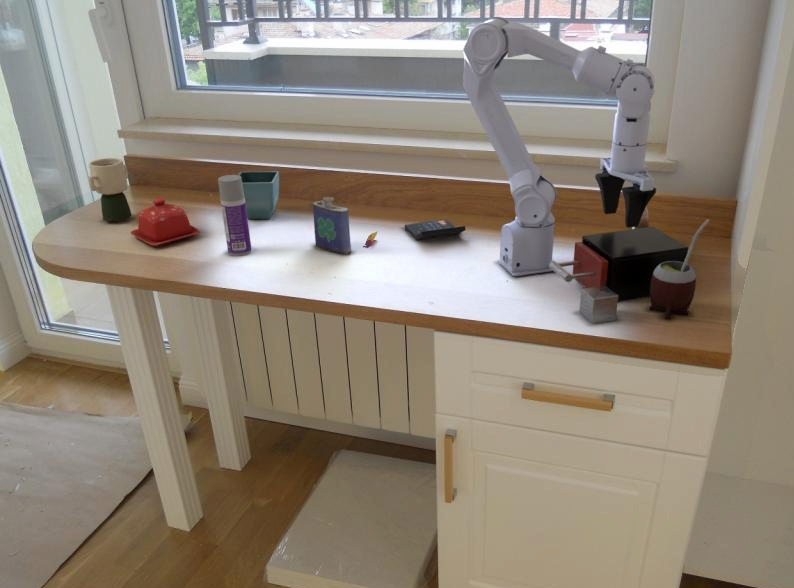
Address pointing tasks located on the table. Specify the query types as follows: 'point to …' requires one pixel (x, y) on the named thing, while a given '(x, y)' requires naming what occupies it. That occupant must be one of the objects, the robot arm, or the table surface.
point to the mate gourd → (674, 284)
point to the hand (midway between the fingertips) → (620, 219)
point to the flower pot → (260, 193)
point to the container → (234, 215)
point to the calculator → (433, 229)
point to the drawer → (586, 267)
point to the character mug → (110, 187)
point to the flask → (331, 227)
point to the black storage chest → (635, 257)
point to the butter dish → (163, 224)
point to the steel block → (598, 304)
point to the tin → (643, 220)
